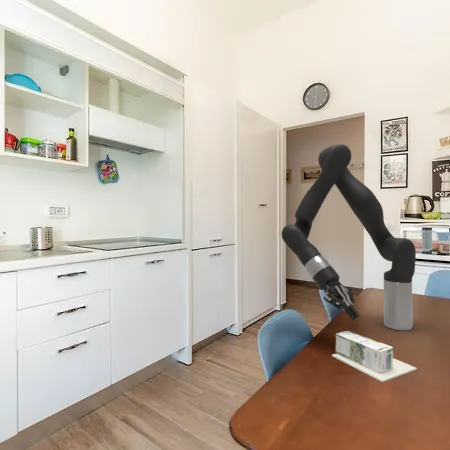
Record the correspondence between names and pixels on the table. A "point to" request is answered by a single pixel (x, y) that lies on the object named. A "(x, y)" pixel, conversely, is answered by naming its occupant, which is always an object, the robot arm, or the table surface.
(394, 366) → the off-white mat
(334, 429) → the table surface
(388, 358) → the syrup box
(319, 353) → the table surface
